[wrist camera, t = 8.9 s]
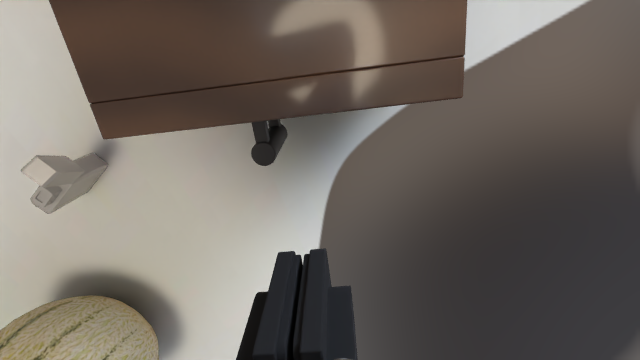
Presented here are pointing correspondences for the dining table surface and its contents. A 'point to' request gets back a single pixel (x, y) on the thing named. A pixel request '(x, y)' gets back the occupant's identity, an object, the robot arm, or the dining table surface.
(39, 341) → the cantaloupe
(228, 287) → the dining table surface
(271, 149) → the tinted door with handle
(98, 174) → the lighter
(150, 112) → the cabinet
